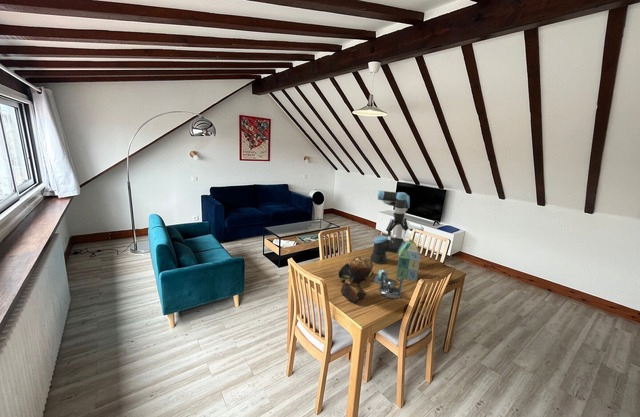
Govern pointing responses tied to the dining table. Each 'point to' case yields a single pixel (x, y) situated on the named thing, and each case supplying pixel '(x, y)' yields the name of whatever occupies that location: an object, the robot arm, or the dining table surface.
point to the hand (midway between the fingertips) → (396, 238)
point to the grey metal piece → (390, 288)
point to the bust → (356, 279)
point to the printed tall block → (408, 261)
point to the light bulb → (381, 275)
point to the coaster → (380, 281)
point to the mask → (346, 272)
